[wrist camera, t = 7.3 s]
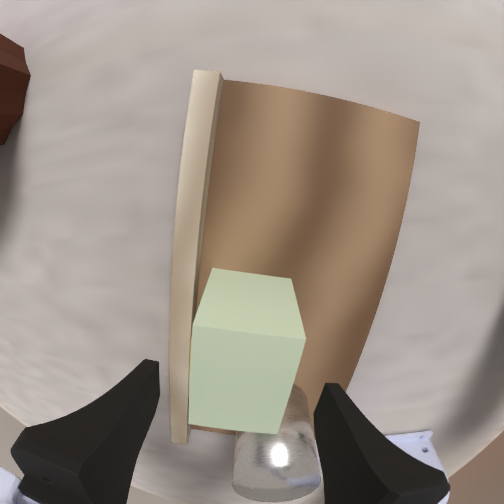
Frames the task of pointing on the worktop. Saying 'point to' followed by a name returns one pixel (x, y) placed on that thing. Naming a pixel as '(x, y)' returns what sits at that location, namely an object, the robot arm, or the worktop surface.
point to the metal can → (278, 457)
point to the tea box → (244, 352)
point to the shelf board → (287, 217)
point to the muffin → (11, 85)
